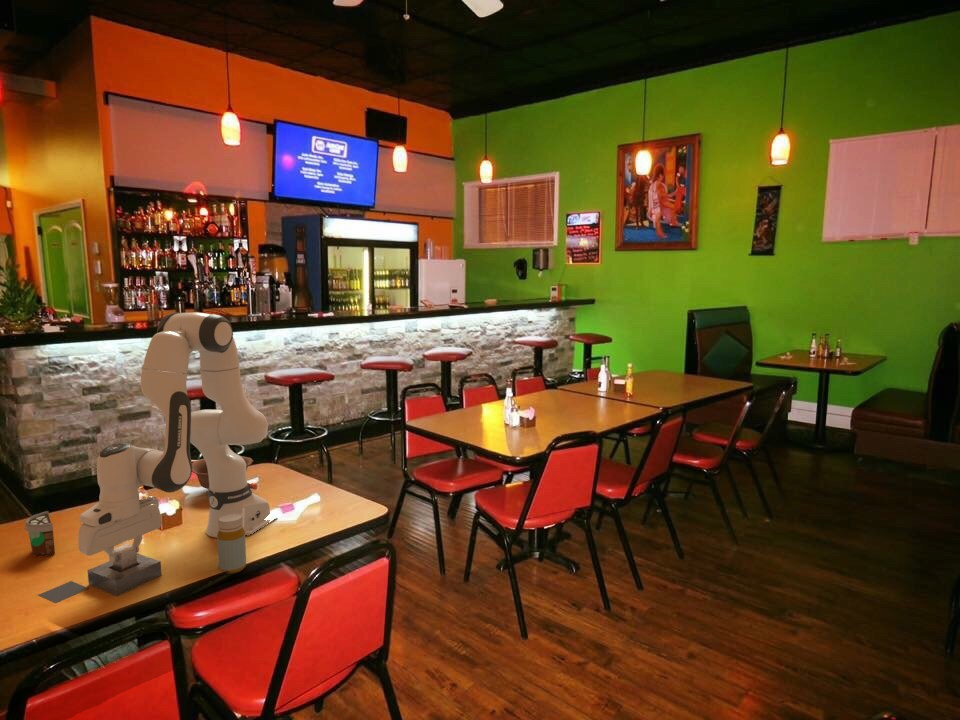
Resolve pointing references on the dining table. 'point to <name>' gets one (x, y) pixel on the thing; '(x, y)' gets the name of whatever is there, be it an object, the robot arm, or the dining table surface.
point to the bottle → (231, 543)
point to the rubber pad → (63, 592)
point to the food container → (41, 534)
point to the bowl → (202, 471)
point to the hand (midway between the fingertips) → (124, 556)
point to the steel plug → (125, 557)
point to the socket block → (124, 575)
